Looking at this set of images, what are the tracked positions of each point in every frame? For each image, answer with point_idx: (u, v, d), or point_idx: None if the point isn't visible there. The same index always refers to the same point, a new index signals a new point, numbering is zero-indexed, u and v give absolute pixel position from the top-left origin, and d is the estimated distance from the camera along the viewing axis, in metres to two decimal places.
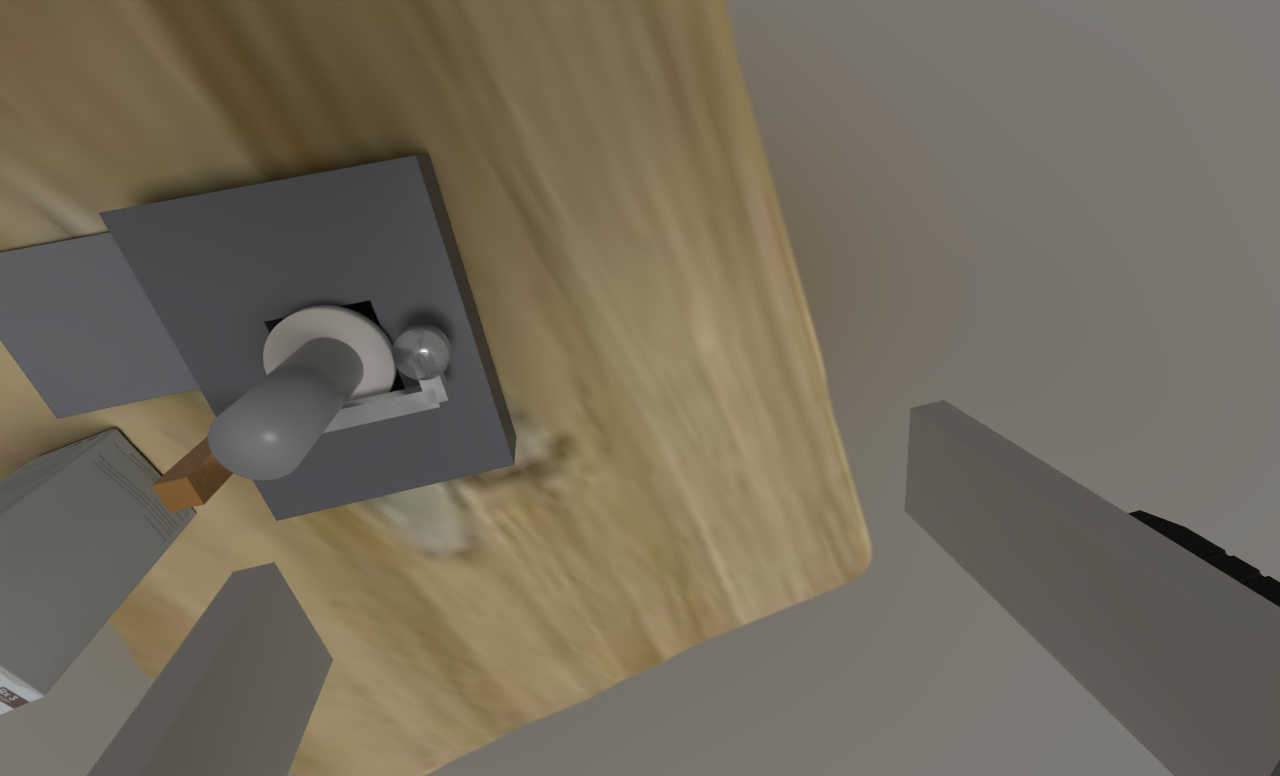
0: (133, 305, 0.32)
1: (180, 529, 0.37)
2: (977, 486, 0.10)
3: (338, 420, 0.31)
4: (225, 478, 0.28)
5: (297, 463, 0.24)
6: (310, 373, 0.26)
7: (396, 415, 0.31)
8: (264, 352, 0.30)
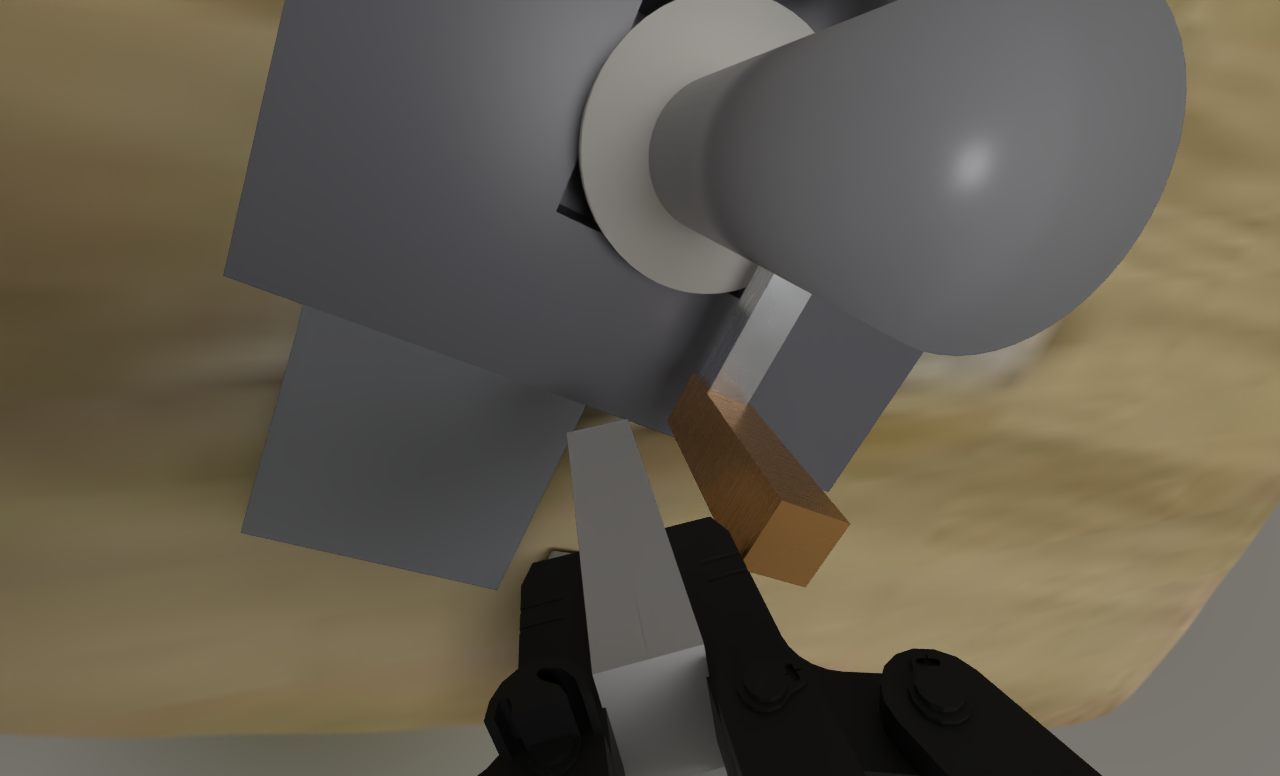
0: (416, 396, 0.19)
1: None
2: None
3: None
4: (796, 462, 0.12)
5: (1174, 130, 0.05)
6: (789, 42, 0.08)
7: None
8: (611, 240, 0.14)
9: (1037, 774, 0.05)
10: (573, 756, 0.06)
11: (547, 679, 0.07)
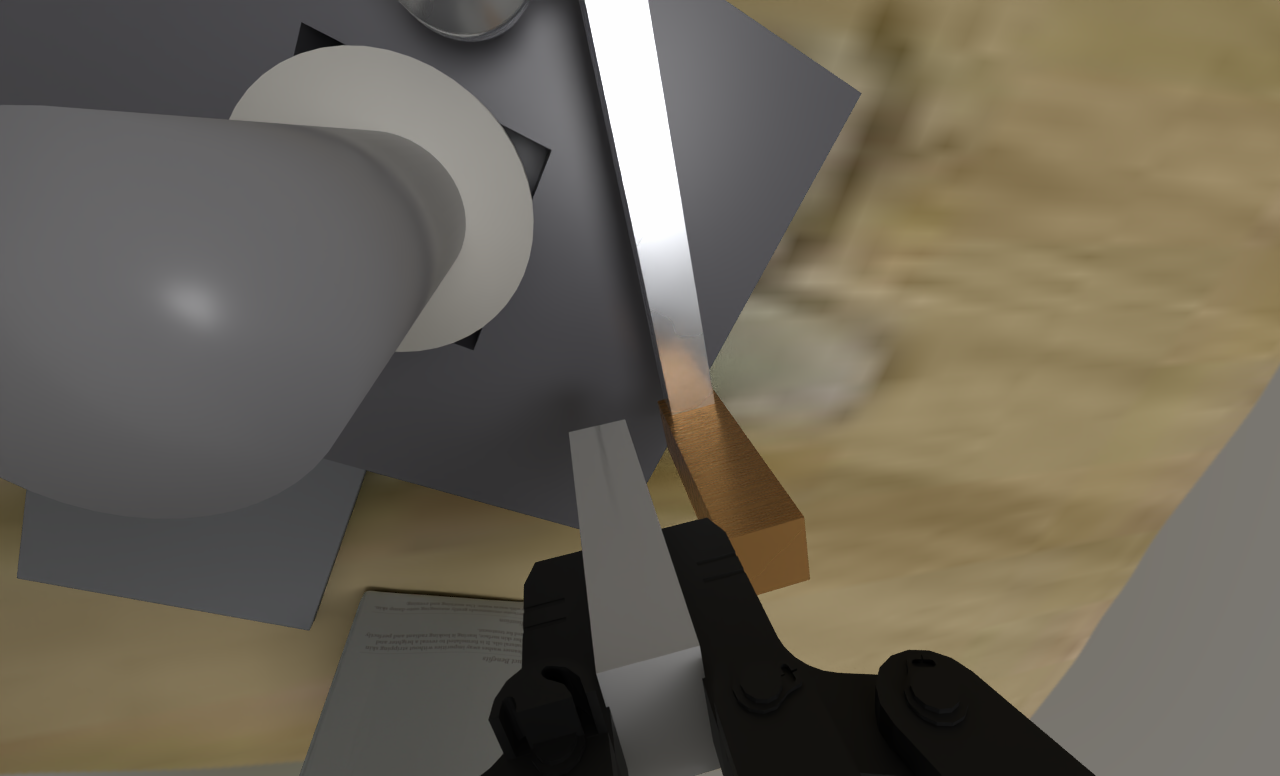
0: None
1: None
2: None
3: (658, 216, 0.12)
4: (756, 459, 0.12)
5: (324, 286, 0.05)
6: None
7: (652, 54, 0.11)
8: None
9: (1032, 775, 0.05)
10: (578, 755, 0.06)
11: (552, 678, 0.07)
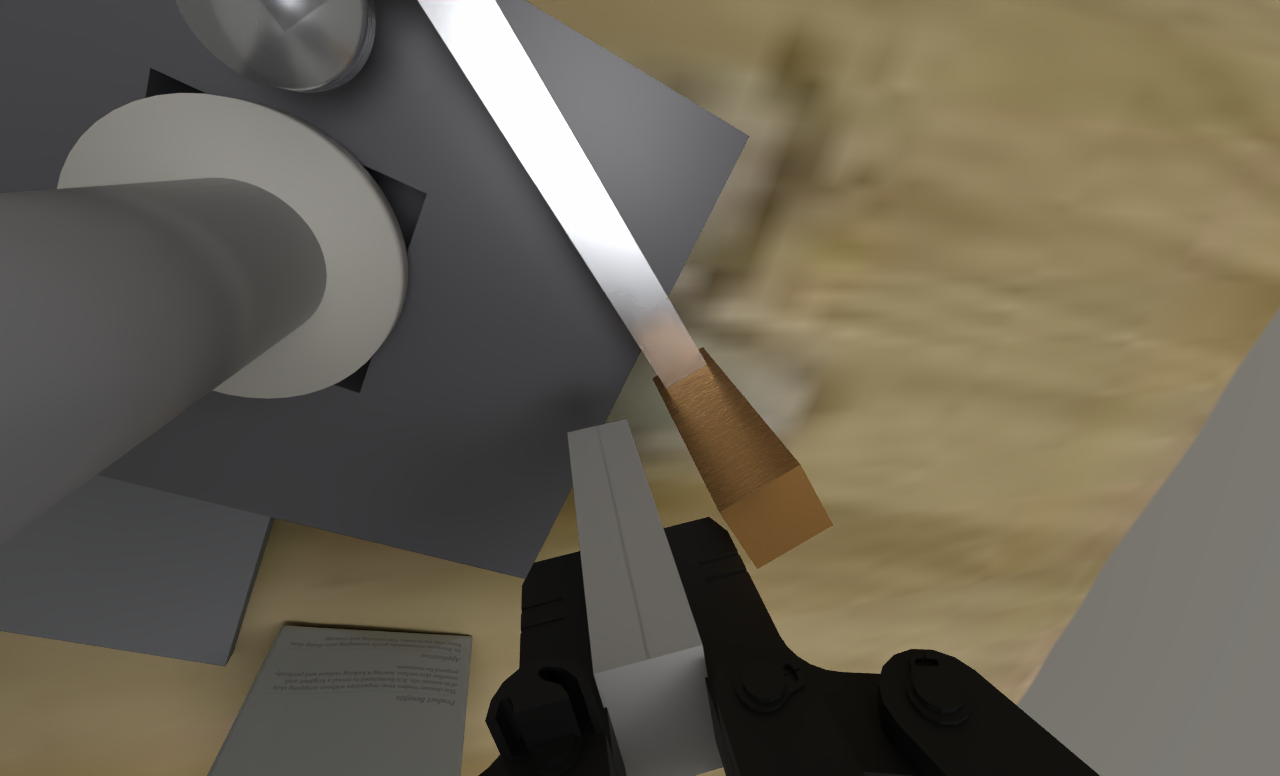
0: None
1: (464, 671, 0.23)
2: None
3: (577, 195, 0.12)
4: (750, 412, 0.11)
5: None
6: None
7: (507, 31, 0.10)
8: None
9: (1035, 775, 0.05)
10: (575, 756, 0.06)
11: (549, 679, 0.07)
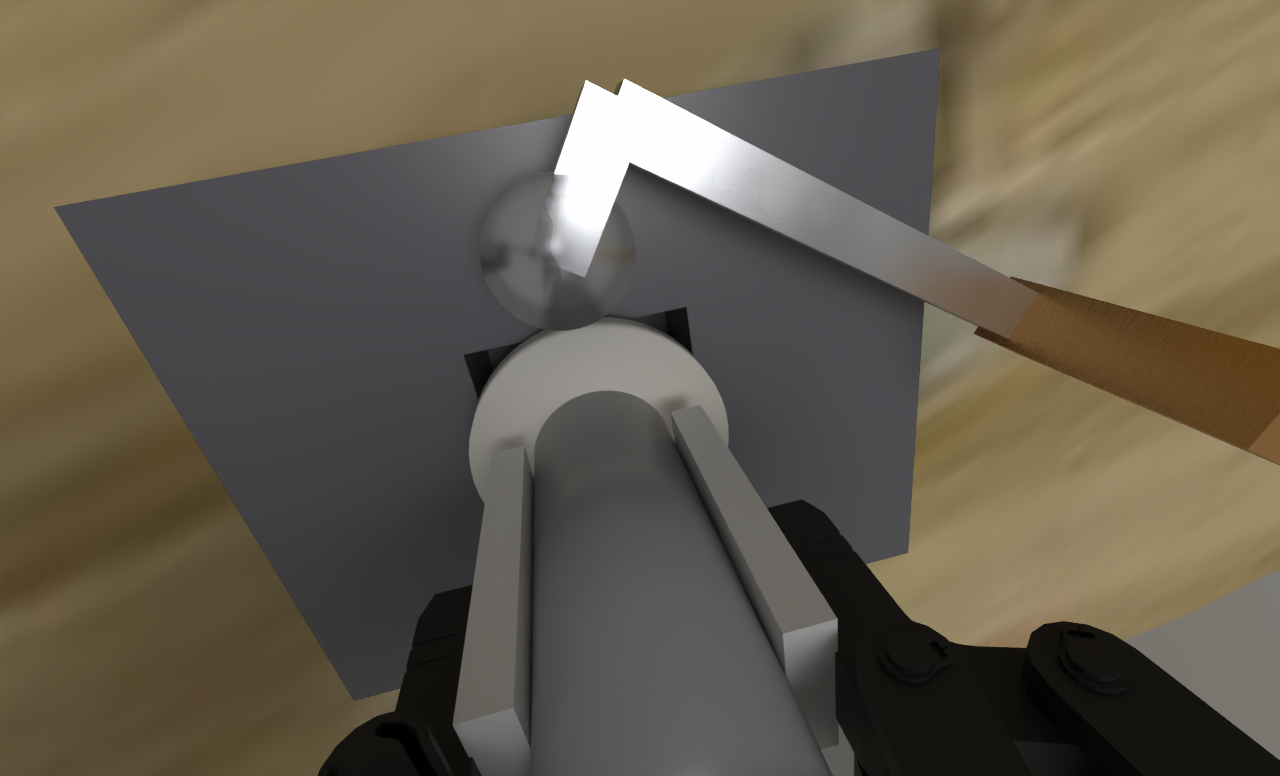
0: None
1: None
2: (695, 479, 0.11)
3: (858, 232, 0.11)
4: (1171, 326, 0.10)
5: (803, 767, 0.06)
6: (548, 551, 0.09)
7: (742, 145, 0.10)
8: None
9: (1205, 749, 0.05)
10: None
11: (390, 734, 0.06)
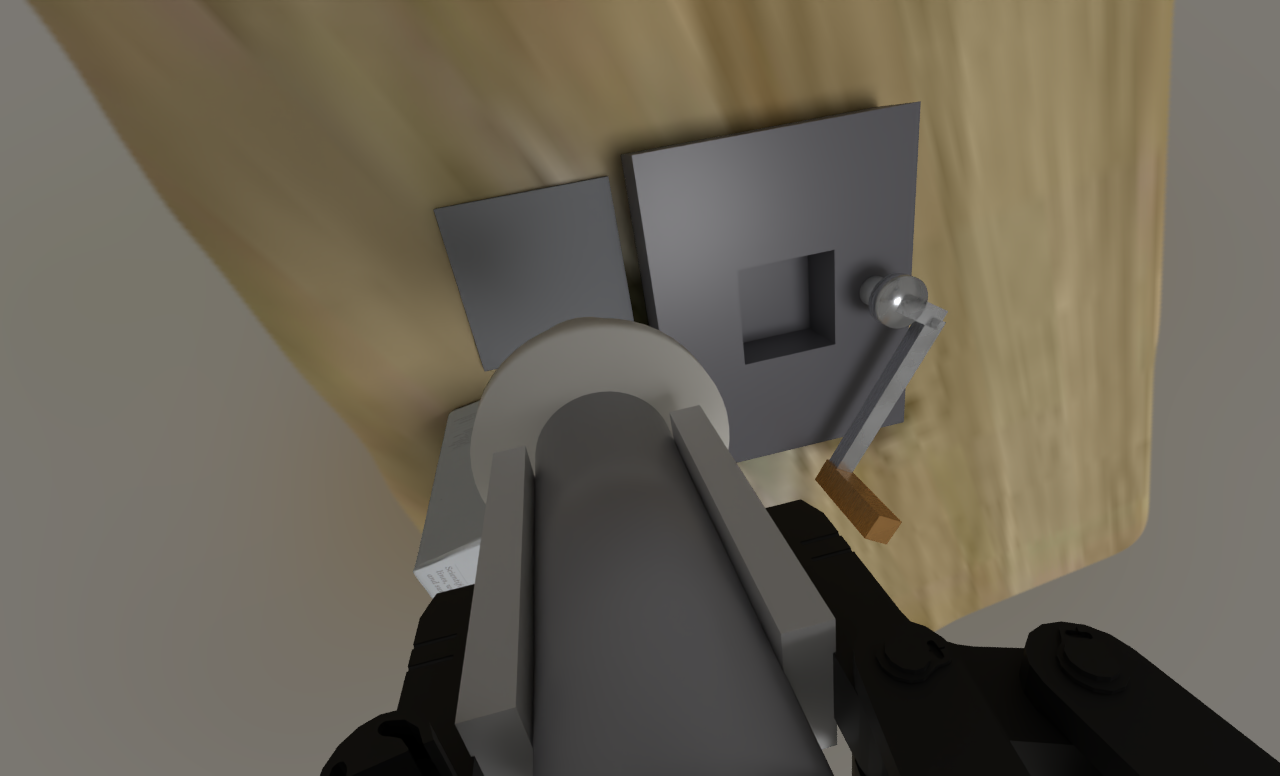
0: (584, 256, 0.33)
1: None
2: (694, 479, 0.11)
3: (887, 402, 0.33)
4: (878, 499, 0.32)
5: (805, 768, 0.06)
6: (549, 552, 0.09)
7: (921, 359, 0.32)
8: None
9: (1202, 749, 0.05)
10: None
11: (392, 733, 0.06)
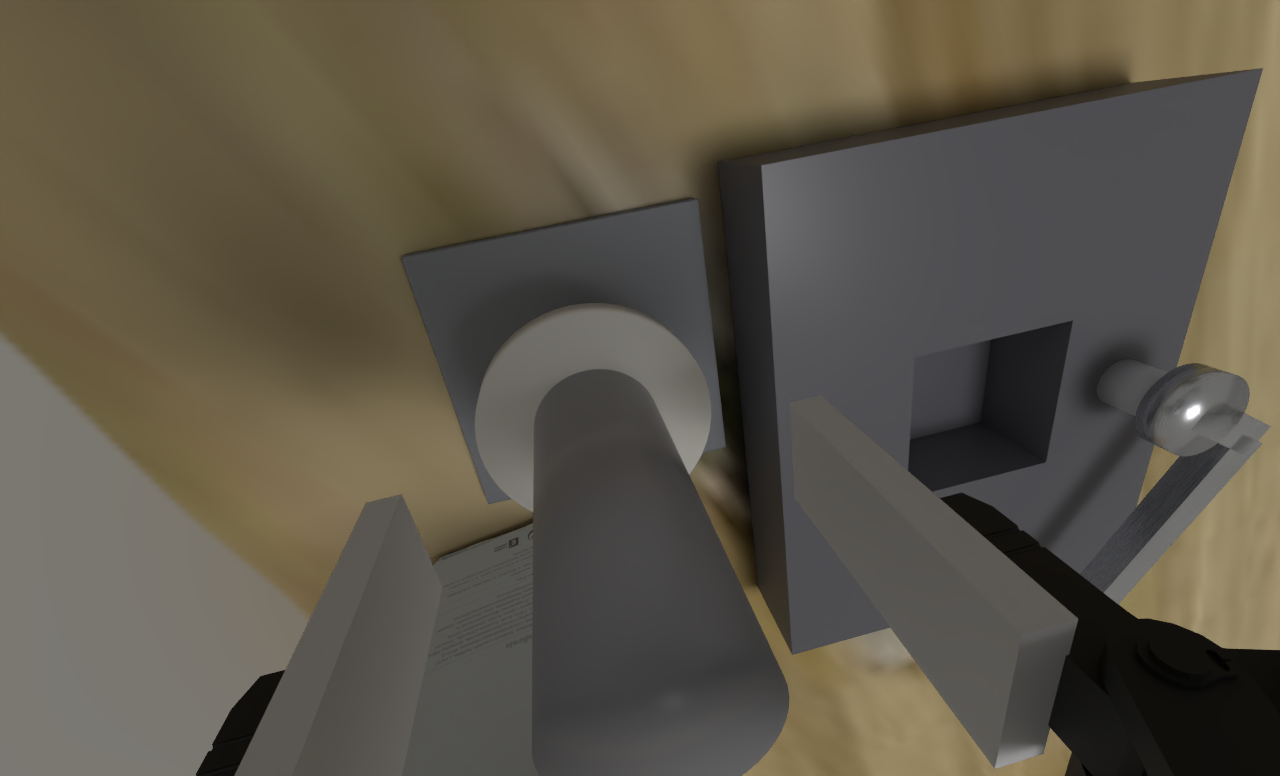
0: None
1: None
2: (833, 472, 0.11)
3: (1142, 563, 0.20)
4: None
5: (750, 650, 0.07)
6: (546, 500, 0.10)
7: (1209, 500, 0.19)
8: None
9: None
10: None
11: None
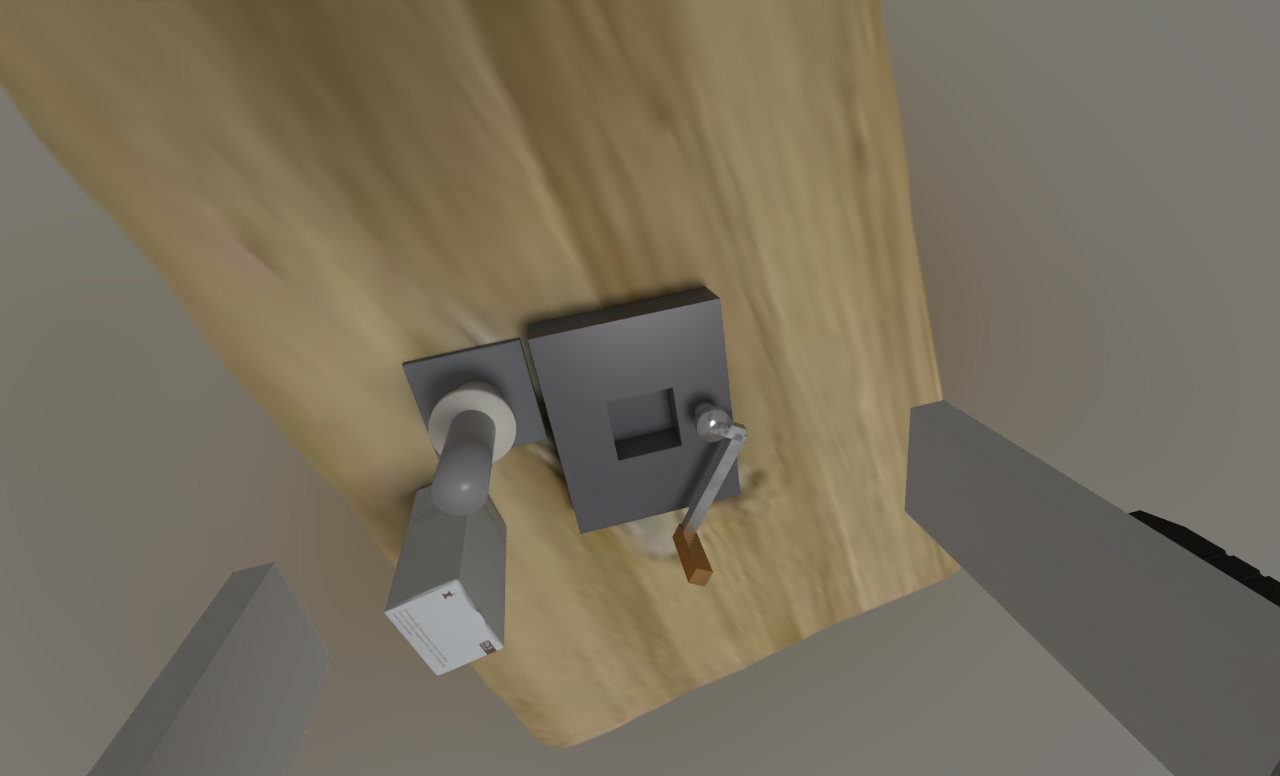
0: (506, 389, 0.48)
1: (505, 539, 0.53)
2: (977, 486, 0.10)
3: (713, 487, 0.48)
4: (704, 554, 0.47)
5: (474, 474, 0.35)
6: (443, 450, 0.38)
7: (733, 460, 0.47)
8: None
9: None
10: None
11: None
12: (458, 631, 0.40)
